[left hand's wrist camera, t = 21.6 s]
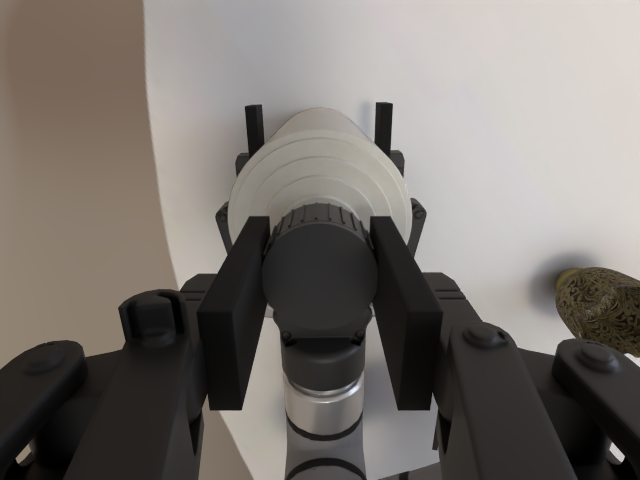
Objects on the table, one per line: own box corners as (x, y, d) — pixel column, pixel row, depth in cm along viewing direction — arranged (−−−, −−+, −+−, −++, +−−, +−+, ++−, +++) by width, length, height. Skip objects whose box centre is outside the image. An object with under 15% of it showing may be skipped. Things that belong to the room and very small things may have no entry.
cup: (607, 239, 37) (679, 277, 30) (608, 302, 40) (675, 352, 32) (528, 259, 38) (580, 301, 30) (535, 320, 40) (584, 372, 33)
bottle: (304, 87, 32) (272, 87, 11) (385, 141, 34) (497, 233, 12) (256, 171, 35) (155, 305, 13) (334, 218, 36) (353, 402, 15)
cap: (392, 260, 15) (404, 290, 12) (310, 314, 15) (308, 350, 13) (331, 179, 13) (333, 197, 11) (246, 242, 14) (233, 269, 12)
